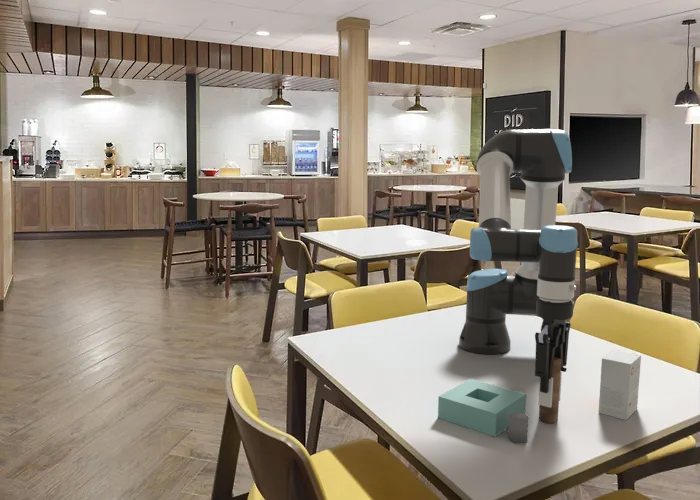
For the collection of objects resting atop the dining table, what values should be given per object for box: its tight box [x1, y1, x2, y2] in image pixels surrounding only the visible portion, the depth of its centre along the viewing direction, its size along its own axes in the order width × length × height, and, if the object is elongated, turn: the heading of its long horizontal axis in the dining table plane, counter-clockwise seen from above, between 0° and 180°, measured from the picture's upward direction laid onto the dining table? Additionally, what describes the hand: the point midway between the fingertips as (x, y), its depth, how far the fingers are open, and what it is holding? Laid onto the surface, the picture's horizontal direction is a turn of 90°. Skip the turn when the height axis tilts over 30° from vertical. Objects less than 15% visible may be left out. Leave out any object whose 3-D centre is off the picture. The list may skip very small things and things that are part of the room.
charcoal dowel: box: [507, 412, 530, 445], centre depth 128 cm, size 4×4×5 cm
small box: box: [598, 349, 642, 421], centre depth 141 cm, size 8×6×13 cm
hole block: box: [437, 378, 527, 437], centre depth 139 cm, size 14×14×5 cm
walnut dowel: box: [538, 357, 562, 425], centre depth 136 cm, size 4×4×14 cm
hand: (549, 402), depth 137 cm, fingers closed on walnut dowel, 4 cm apart
